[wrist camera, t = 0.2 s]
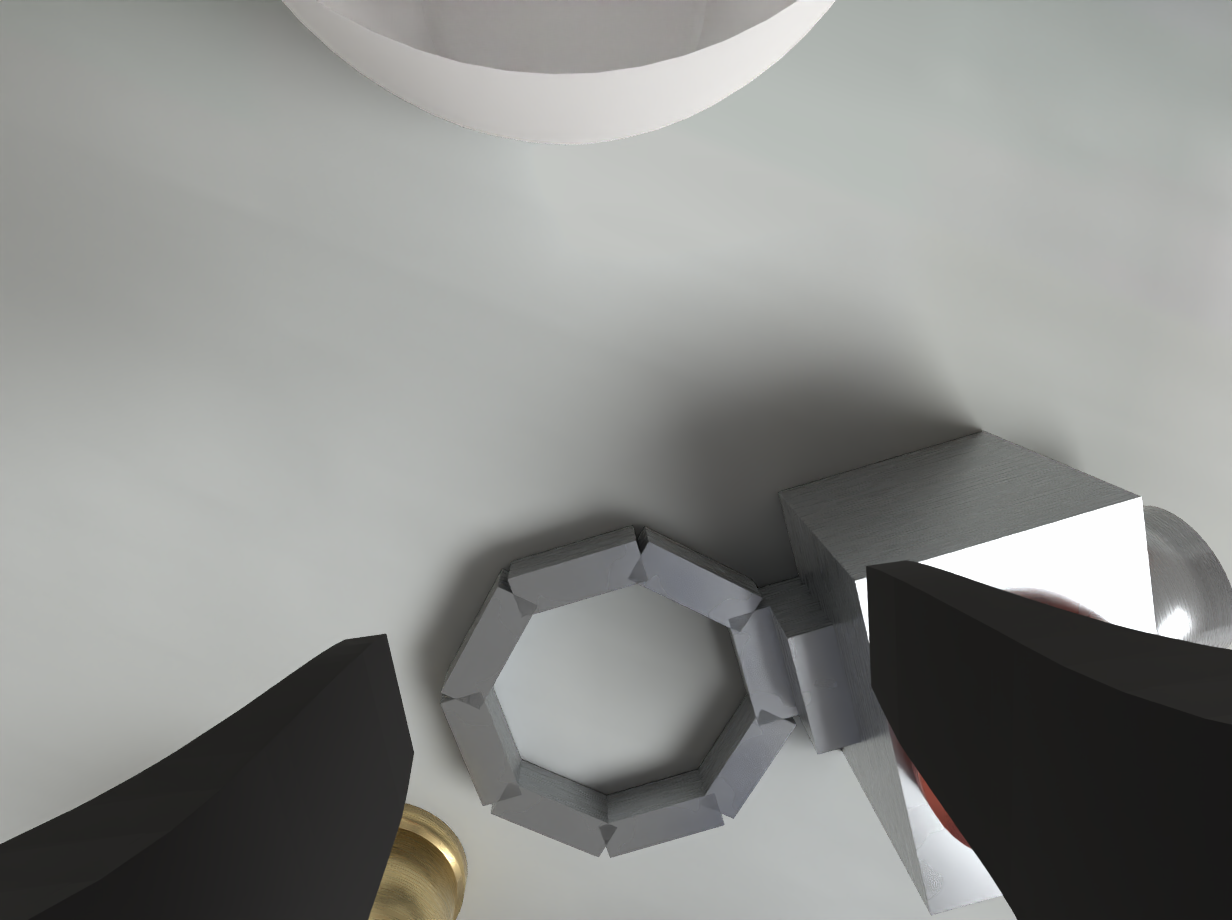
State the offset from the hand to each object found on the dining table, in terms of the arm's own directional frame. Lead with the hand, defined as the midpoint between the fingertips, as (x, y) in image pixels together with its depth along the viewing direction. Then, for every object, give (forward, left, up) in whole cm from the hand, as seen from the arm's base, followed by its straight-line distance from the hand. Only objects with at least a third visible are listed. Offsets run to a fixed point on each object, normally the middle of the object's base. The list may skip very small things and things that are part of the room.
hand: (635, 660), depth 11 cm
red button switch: (-6, -3, -10) cm, 12 cm away
